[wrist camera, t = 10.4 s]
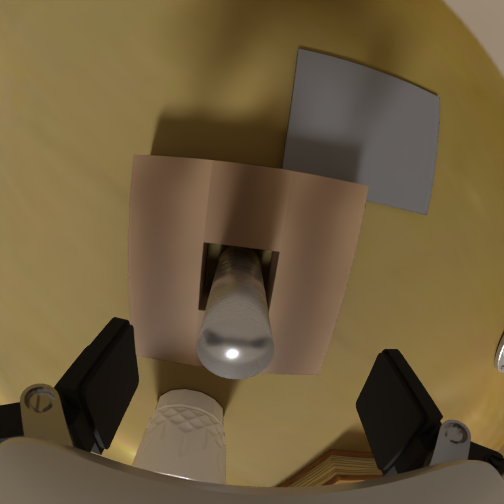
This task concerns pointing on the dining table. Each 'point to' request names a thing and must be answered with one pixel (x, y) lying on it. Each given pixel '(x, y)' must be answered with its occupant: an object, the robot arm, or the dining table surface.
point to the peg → (236, 318)
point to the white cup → (185, 438)
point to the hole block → (242, 235)
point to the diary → (337, 470)
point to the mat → (363, 130)
